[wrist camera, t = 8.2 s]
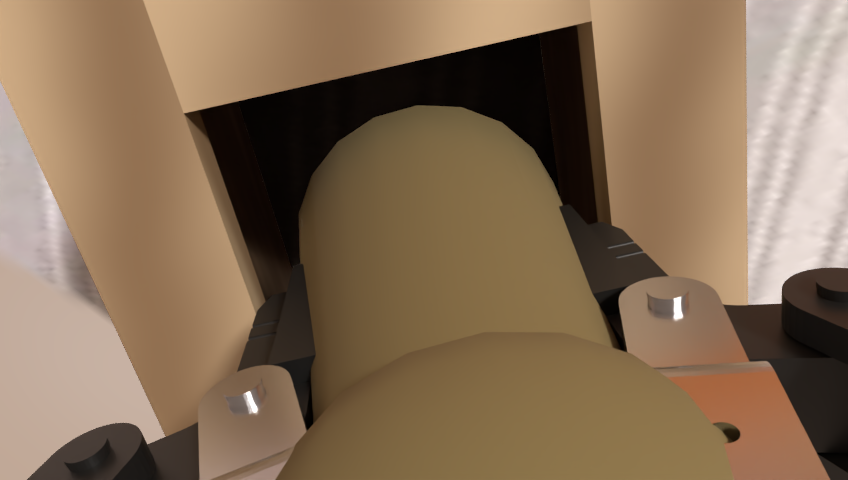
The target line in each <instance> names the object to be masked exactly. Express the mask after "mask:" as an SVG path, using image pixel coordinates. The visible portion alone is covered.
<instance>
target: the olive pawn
mask: <svg viewBox="0 0 848 480" xmlns="http://www.w3.org/2000/svg"><path fill="white" fill-rule="evenodd" d="M559 206H563V205H562V202H561V200H560V197H559V195H558V193H557V190H556V188H555V185H554V183H553V181H552V179H551V178H550V176H549V174H548V173H547V171H546V169H545V168H544V166H543V164H542V162H541V161H540V159H539V157H538V156H537V154H536V152H535V151H534V149H533V148H532V147H531V146H529V145H528V144H527V143H526V142H525V141H524V140H522V139H521V138H520V137H519V136H518V135H516V134H515V133H514V132H513V131H512V130H510V129H509V128H508V127H507V126H506V125H504V124H503V123H502V122H500V121H497V120H494V119H492V118H489V117H486V116H484V115H481V114H478V113H476V112H473V111H471V110H468V109H465V108H463V107H448V106H423V105H416V106H413V107H409V108H406V109H402V110H399V111H395V112H391V113H388V114H384V115H381V116H377V117H374V118H372V119H371V120H369V121H368V122H366V123H365V124H363V125H362V126H360V127H359V128H357V129H356V130H355V131H353V132H352V133H350V134H349V135H347V136H346V137H344V138H343V139H341V140H340V141H338V142H337V143H336V145H335V146H334V147H333V148H332V150H331V151H330V152H329V154H328V155H327V156H326V157H325V159H324V160H323V161H322V163H321V164H320V165H319V167H318V168H317V169H316V170H315V172H314V173H313V174H312V176H311V179H310V182H309V185H308V188H307V191H306V194H305V197H304V200H303V203H302V206H301V209H300V212H299V253H300V264H303V266H304V273H305V280H306V287H307V294H308V301H309V309H310V316H311V323H312V330H313V337H314V344H315V351H316V356H315V359H314V361H313V364H312V367H311V393H312V412H313V425H312V426H311V427H310V428H309V429H308V431H307V432H306V433H305V434H304V435H303V436H302V437H301V439H300V440H299V441H298V442H297V443H296V444H295V446H294V450H293V452H292V454H291V455H290V457H289V459H288V460H287V462H286V464H285V465H284V467H283V468H282V470H281V471H280V473H279V475H278V476H277V478H276V479H275V480H734V477H733V474H732V470H731V467H730V463H729V460H728V456H727V453H726V449H725V446H724V443H732V442H733V441H732V440H731V439H730V438H729V437H728V436H727V435H726V434H725V433H723V432H722V431H721V430H720V429H719V428H717V427H716V426H715V425H713V424H712V423H711V422H710V421H709V419H708V418H707V417H706V416H705V414H704V413H703V412H702V411H701V409H700V408H699V407H698V406H697V404H696V403H695V402H694V401H693V399H692V398H691V397H690V396H689V394H688V393H687V392H686V391H684V390H683V389H682V388H680V387H679V386H678V385H676V384H675V383H674V382H672V381H671V380H670V379H668V378H667V377H666V376H664V375H663V374H661V373H660V372H658V371H657V370H655V369H654V368H652V367H651V366H649V365H648V364H646V363H645V362H643V361H642V360H640V359H639V358H637V357H636V356H634V355H633V354H631V353H627V352H624V351H622V349H621V347H620V345H619V343H618V340H617V338H616V336H615V334H614V332H613V330H612V328H611V326H610V323H609V321H608V319H607V317H606V315H605V314H604V312H603V310H602V309H601V307H600V306H599V304H598V302H597V301H596V299H595V297H594V296H593V294H592V292H591V289H590V286H589V284H588V281H587V279H586V276H585V273H584V271H583V268H582V266H581V263H580V260H579V258H578V255H577V253H576V250H575V247H574V245H573V242H572V240H571V237H570V234H569V232H568V229H567V227H566V224H565V221H564V219H563V216H562V214H561V211H560V208H559Z"/></svg>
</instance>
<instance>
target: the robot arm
mask: <svg viewBox="0 0 848 480" xmlns="http://www.w3.org/2000/svg"><path fill="white" fill-rule="evenodd" d="M559 208H560V211H561V214H562V216H563V219H564V221H565V224H566V227H567V229H568V232H569V234H570V237H571V240H572V242H573V245H574V247H575V250H576V253H577V255H578V258H579V260H580V263H581V266H582V268H583V271H584V273H585V276H586V279H587V281H588V284H589V286H590V289H591V292H592V294H593V296H594V297H595V299H596V301H597V302H598V304H599V306H600V307H601V309H602V310H603V312H604V314H605V315H606V317H607V319H608V321H609V323H610V326H611V328H612V330H613V332H614V334H615V336H616V338H617V340H618V343H619V345H620V347H621V349H622V351H624V352H627V353H631V354H633V355H634V356H636V357H637V358H639V359H640V360H642V361H643V362H645V363H646V364H648V365H649V366H651V367H652V368H654V369H655V370H657V371H658V372H660V373H661V374H663V375H664V376H666V377H667V378H668V379H670V380H671V381H672V382H674V383H675V384H676V385H678V386H679V387H680V388H682V389H683V390H684V391H686V392H687V393H688V394H689V396H690V397H691V398H692V399H693V401H694V402H695V403H696V404H697V406H698V407H699V408H700V409H701V411H702V412H703V413H704V414H705V416H706V417H707V418H708V419H709V421H710V422H711V423H712V424H713V425H715V426H716V427H717V428H719V429H720V430H721V431H722V432H723V433H725V434H726V435H727V436H728V437H729V438H730V439H731V440H732V441H733V442H732V443H724V446H725V449H726V453H727V456H728V460H729V463H730V467H731V470H732V474H733V477H734V480H848V268H819V269H813V270H807V271H804V272H800V273H798V274H795V275H793V276H792V277H790V278H789V279H787V280H786V281H785V283H784V284H783V287H782V304H764V305H725V304H722V301H721V299H720V297H719V295H718V293H717V292H716V291H715V290H714V289H713V288H712V287H711V286H709V285H707V284H705V283H703V282H701V281H698V280H695V279H691V278H685V277H675V276H668V275H667V274H666V273H665V272H664V271H663V270H662V269H661V268H660V267H659V266H658V265H657V264H656V263H655V262H654V261H653V260H652V259H651V258H650V257H649V256H648V255H647V254H646V253H644V252H643V250H642V249H641V248H640V247H639V246H638V245H637V244H636V243H634V241H633V240H632V239H631V238H630V237H629V236H628V235H627V233H626V232H625V231H624V230H623V229H620V228H618V227H615V226H612V225H609V224H607V223H604V222H598V223H593V224H589V225H588V224H587V223H586V222H585V221H584V220H583V219H582V218H581V216H580V215H579V214H578V213H577V212H576V211H575V210H574V208H573V207H572V206H571V205H569V204H568V205H563V206H559ZM252 326H253V328H251V331H250V334H249V337H248V339H249V341H247V343H246V346H245V349H244V352H243V355H242V358H241V361H240V364H239V367H238V370H237V372H236V373H233V374H232V375H230V376H228V377H226V378H224V379H223V380H221V381H219V382H218V383H217V384H215V385H214V386H213V387H212V388H211V389H210V390H208V392H207V393H206V394H205V395H204V396H203V398H202V399H201V401H200V403H199V406H198V422H197V423H195V424H193V425H191V426H189V427H187V428H185V429H183V430H181V431H178V432H176V433H174V434H171V435H169V436H167V437H164V438H162V439H160V440H157V441H155V442H153V443H150V444H148V445H147V443H146V441H145V439H144V437H143V435H142V433H141V431H140V429H139V428H138V427H137V426H135V425H132V424H129V423H115V424H110V425H106V426H102V427H99V428H96V429H93V430H91V431H89V432H87V433H84V434H82V435H80V436H79V437H77V438H75V439H73V440H72V441H70V442H69V443H67V444H65V445H64V446H63V447H61V448H60V449H59V450H58V451H56V452H55V453H54V454H53V455H52V456H51V457H50V458H49V459H48V460H47V461H46V462H45V463H44V464H43V465H42V466H41V467H40V468H39V469H38V470H37V471H35V473H33V474H32V475H31V476H30V477H29V478H28V479H27V480H275V479H276V478H277V476H278V475H279V473H280V471H281V470H282V468H283V467H284V465H285V464H286V462H287V460H288V459H289V457H290V455H291V454H292V452H293V450H294V446H295V444H296V443H297V442H298V441H299V440H300V439H301V437H302V436H303V435H304V434H305V433H306V432H307V431H308V429H309V428H310V427H311V426H312V425H313V412H312V393H311V367H312V364H313V361H314V359H315V356H316V351H315V344H314V337H313V330H312V323H311V316H310V309H309V301H308V294H307V287H306V280H305V273H304V266H303V264H298V265H294V266H293V269H292V273H291V277H290V281H289V285H288V289H287V292H283V293H279V294H274V295H272V296H271V297H270V298H269V299H268V300H267V301H266V302H265V303H264V304H263V305H262V306H261V307H260V308H259V309H258V310H257V313H256V316H255V319H254V322H253V325H252Z"/></svg>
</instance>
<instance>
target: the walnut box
mask: <svg viewBox="0 0 848 480" xmlns="http://www.w3.org/2000/svg"><path fill="white" fill-rule="evenodd" d="M537 33H539V38H540V46H541V53H542V61H543V69H544V76H545V84H546V92H547V99H548V107H549V115H550V122H551V130H552V138H553V145H554V153H555V161H556V168H557V176H558V184H559V191H560V199H561V202H562V205H568V204H569V205H571V206H572V207H573V208H574V210H575V211H576V212H577V213H578V214H579V215H580V216H581V218H582V219H583V220H584V221H585V222H586V223H587V224H588V225H589V224H593V223H598V222H604V223H607V224H609V225H612V226H615V227H618V228H620V229H623V230H624V231H625V232H626V233H627V235H628V236H629V237H630V238H631V239H632V240H633V241H634V243H636V244H637V245H638V246H639V247H640V248H641V249H642V250H643V252H644V253H646V254H647V255H648V256H649V257H650V258H651V259H652V260H653V261H654V262H655V263H656V264H657V265H658V266H659V267H660V268H661V269H662V270H663V271H664V272H665V273H666V274H667V275H668V276H675V277H685V278H691V279H695V280H698V281H701V282H703V283H705V284H707V285H709V286H711V287H712V288H713V289H714V290H715V291H716V292H717V293H718V295H719V297H720V299H721V301H722V304H725V305H748V251H747V109H746V0H0V81H1V83H2V85H3V88H4V90H5V92H6V94H7V96H8V98H9V100H10V103H11V105H12V107H13V109H14V111H15V113H16V116H17V118H18V120H19V122H20V124H21V126H22V128H23V131H24V133H25V135H26V137H27V139H28V141H29V144H30V146H31V148H32V150H33V152H34V154H35V156H36V159H37V161H38V163H39V165H40V167H41V169H42V171H43V174H44V176H45V178H46V180H47V182H48V184H49V187H50V189H51V191H52V193H53V195H54V197H55V199H56V202H57V204H58V206H59V208H60V210H61V212H62V214H63V217H64V219H65V221H66V223H67V225H68V227H69V230H70V232H71V234H72V236H73V238H74V240H75V242H76V245H77V247H78V249H79V251H80V253H81V255H82V257H83V260H84V262H85V264H86V266H87V268H88V270H89V273H90V275H91V277H92V279H93V281H94V283H95V285H96V288H97V290H98V292H99V294H100V296H101V298H102V301H103V303H104V305H105V307H106V309H107V311H108V313H109V316H110V318H111V320H112V322H113V324H114V326H115V328H116V331H117V332H118V335H119V337H120V339H121V341H122V344H123V346H124V348H125V350H126V352H127V354H128V356H129V359H130V361H131V363H132V365H133V367H134V369H135V371H136V373H137V376H138V378H139V380H140V382H141V384H142V387H143V389H144V391H145V393H146V395H147V397H148V399H149V401H150V404H151V406H152V408H153V410H154V412H155V414H156V417H157V419H158V421H159V423H160V425H161V427H162V429H163V432H164V434H165V436H166V437H167V436H169V435H171V434H174V433H176V432H178V431H181V430H183V429H185V428H187V427H189V426H191V425H193V424H195V423H197V422H198V406H199V403H200V401H201V399H202V398H203V396H204V395H205V394H206V393H207V392H208V390H210V389H211V388H212V387H213V386H214V385H215V384H217V383H218V382H219V381H221V380H223V379H224V378H226V377H228V376H230V375H232V374H233V373H236V372H237V370H238V367H239V364H240V361H241V358H242V355H243V352H244V349H245V346H246V343H247V341H249V339H248V337H249V334H250V331H251V328H253V326H252V325H253V322H254V319H255V316H256V313H257V310H258V309H259V308H260V307H261V306H262V305H263V304H264V303H265V302H266V301H267V300H268V299H269V298H270V297H271V296H272V295H274V294H279V293H283V292H287V289H288V285H289V281H290V277H291V273H292V267H291V264H290V261H289V258H288V254H287V251H286V248H285V245H284V242H283V239H282V236H281V233H280V230H279V227H278V224H277V220H276V217H275V214H274V211H273V208H272V205H271V202H270V199H269V196H268V193H267V190H266V186H265V183H264V180H263V177H262V174H261V171H260V168H259V165H258V162H257V159H256V155H255V152H254V149H253V146H252V143H251V140H250V137H249V134H248V131H247V128H246V125H245V121H244V118H243V115H242V112H241V109H240V106H239V103H238V101H241V100H245V99H250V98H254V97H259V96H263V95H267V94H272V93H276V92H281V91H285V90H290V89H294V88H298V87H303V86H307V85H312V84H316V83H321V82H325V81H329V80H334V79H338V78H343V77H347V76H351V75H356V74H360V73H365V72H369V71H374V70H378V69H382V68H387V67H391V66H396V65H400V64H405V63H409V62H413V61H418V60H422V59H427V58H431V57H436V56H440V55H444V54H449V53H453V52H458V51H462V50H466V49H471V48H475V47H480V46H484V45H489V44H493V43H497V42H502V41H506V40H511V39H515V38H520V37H524V36H528V35H533V34H537Z"/></svg>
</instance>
